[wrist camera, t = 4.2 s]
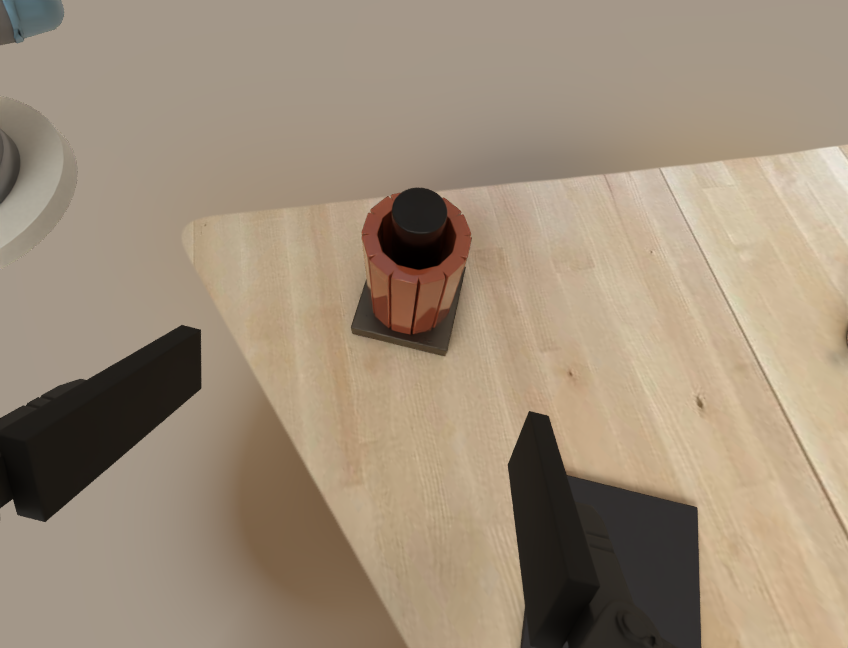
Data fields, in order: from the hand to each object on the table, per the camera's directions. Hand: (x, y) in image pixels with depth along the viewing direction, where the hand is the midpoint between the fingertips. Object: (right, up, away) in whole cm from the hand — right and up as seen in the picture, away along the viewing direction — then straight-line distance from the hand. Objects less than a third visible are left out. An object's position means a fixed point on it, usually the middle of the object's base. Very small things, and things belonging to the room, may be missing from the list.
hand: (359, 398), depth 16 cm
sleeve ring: (+1, +5, +18) cm, 19 cm away
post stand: (+1, +5, +19) cm, 20 cm away
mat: (+16, -15, +13) cm, 25 cm away
